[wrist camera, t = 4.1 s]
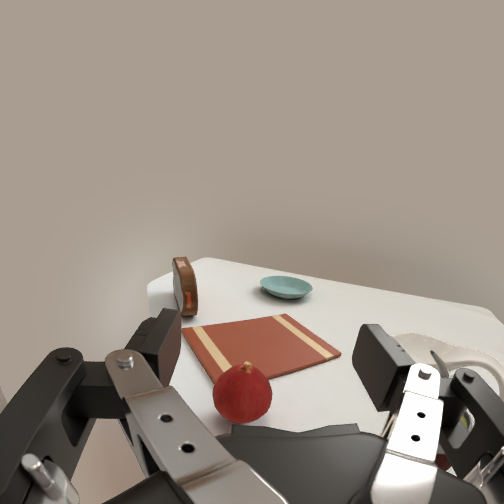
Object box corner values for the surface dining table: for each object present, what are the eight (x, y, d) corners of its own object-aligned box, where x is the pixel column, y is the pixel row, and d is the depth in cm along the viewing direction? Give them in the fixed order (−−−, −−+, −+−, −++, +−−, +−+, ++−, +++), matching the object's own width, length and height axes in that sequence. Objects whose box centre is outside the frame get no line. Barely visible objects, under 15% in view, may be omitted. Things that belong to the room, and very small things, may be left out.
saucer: (258, 300, 60) (259, 290, 59) (260, 281, 71) (261, 273, 71) (314, 306, 59) (316, 296, 59) (307, 287, 71) (308, 278, 70)
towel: (219, 391, 31) (219, 387, 31) (181, 331, 44) (181, 328, 43) (340, 356, 41) (341, 352, 41) (285, 316, 54) (285, 313, 53)
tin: (198, 323, 47) (201, 276, 45) (180, 324, 46) (181, 276, 44) (184, 290, 60) (186, 251, 58) (170, 290, 59) (171, 251, 57)
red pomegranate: (209, 401, 29) (212, 344, 27) (260, 400, 30) (269, 344, 28) (214, 439, 24) (217, 381, 22) (271, 436, 25) (286, 379, 23)
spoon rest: (362, 364, 39) (376, 322, 37) (399, 343, 45) (411, 307, 44) (489, 437, 20) (518, 392, 18) (505, 397, 26) (525, 358, 25)
